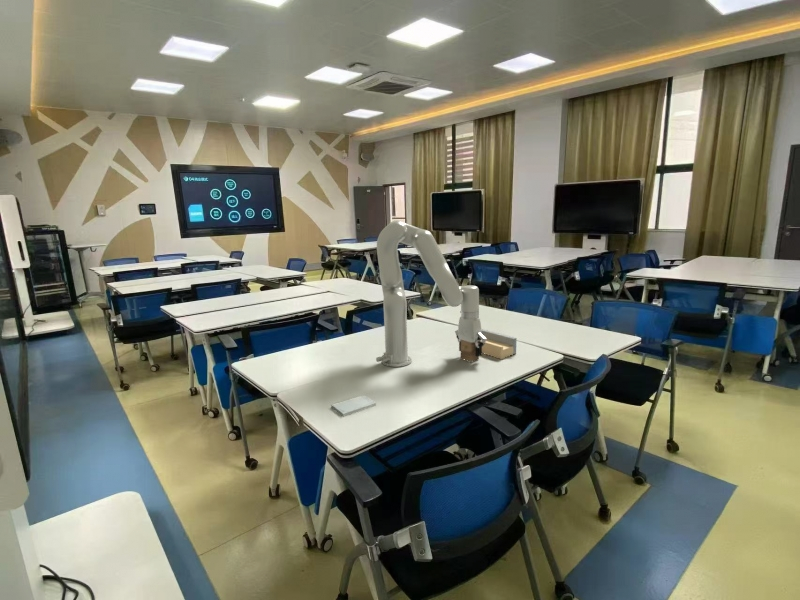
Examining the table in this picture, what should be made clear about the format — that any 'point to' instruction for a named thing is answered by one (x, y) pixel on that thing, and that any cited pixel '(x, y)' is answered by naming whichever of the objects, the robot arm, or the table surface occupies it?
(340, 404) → the hard drive
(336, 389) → the table surface
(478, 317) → the robot arm
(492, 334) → the cleat board
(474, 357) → the cabinet block
